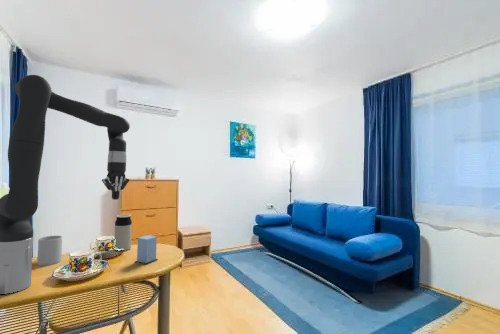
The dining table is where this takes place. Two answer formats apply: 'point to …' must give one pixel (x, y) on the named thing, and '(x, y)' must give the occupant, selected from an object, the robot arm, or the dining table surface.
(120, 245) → the travel mug
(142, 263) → the post
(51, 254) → the mug
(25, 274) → the robot arm
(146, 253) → the blue rectangular block
